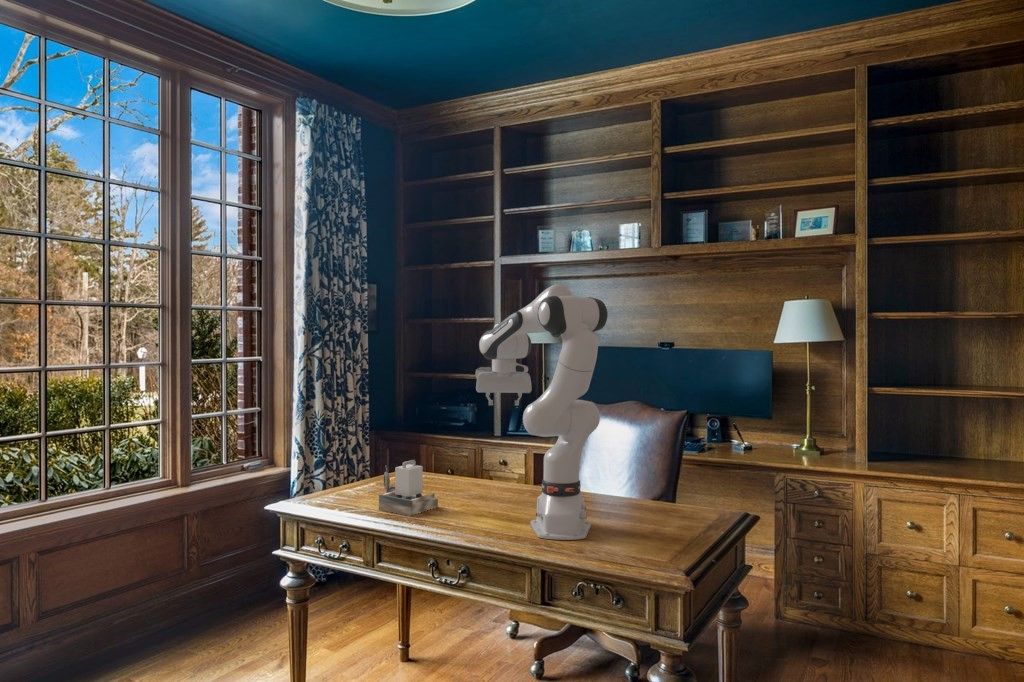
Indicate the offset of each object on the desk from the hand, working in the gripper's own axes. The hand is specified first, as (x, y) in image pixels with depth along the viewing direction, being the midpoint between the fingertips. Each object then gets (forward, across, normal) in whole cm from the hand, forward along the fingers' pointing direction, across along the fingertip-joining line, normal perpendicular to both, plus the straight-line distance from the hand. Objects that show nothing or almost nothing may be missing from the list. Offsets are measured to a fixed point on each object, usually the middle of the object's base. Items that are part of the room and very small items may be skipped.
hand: (503, 405), depth 248 cm
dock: (+34, -31, -18) cm, 49 cm away
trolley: (+30, -31, -18) cm, 47 cm away
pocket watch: (+33, -42, +6) cm, 54 cm away
